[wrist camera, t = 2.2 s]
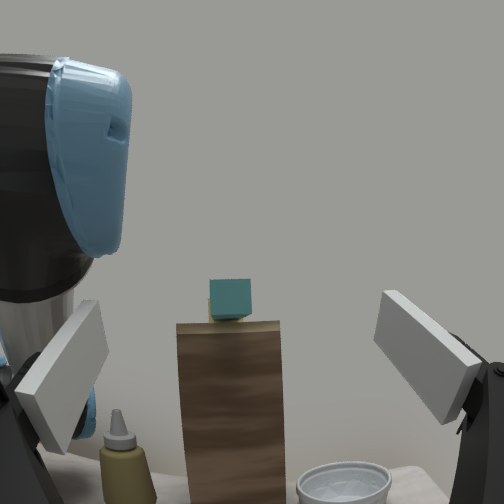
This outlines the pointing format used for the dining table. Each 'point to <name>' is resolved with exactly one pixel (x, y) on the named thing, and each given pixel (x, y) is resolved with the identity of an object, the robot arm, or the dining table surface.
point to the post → (232, 411)
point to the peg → (229, 300)
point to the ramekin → (344, 484)
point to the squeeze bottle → (124, 467)
